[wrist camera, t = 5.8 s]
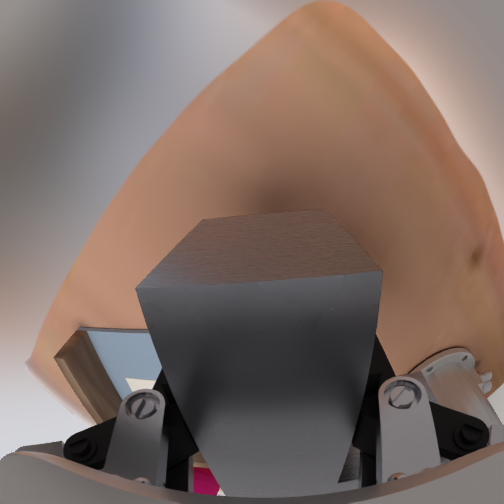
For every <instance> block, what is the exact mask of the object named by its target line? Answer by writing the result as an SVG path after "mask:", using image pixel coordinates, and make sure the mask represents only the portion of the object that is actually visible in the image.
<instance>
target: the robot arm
mask: <svg viewBox="0 0 504 504" xmlns="http://www.w3.org/2000/svg"><path fill="white" fill-rule="evenodd" d="M418 371H421V372H422V374H423V375H424V377H425V379H426V381H427V383H428V385H429V386H430V388H431V390H432V392H433V394H434V396H435V398H436V400H437V402H438V404H436V403H433V402H431V401H429V400H428V396H427V392H426V390H425V387H424V386H423V385H422V384H421V383H420V382H419V381H418V380H416V379H414V378H411V377H407V376H398V377H396V376H395V373H394V371H393V369H392V367H391V365H390V363H389V360H388V358H387V356H386V354H385V352H384V350H383V348H382V346H381V344H380V342H379V340H378V338H377V336H376V334H375V341H374V347H373V353H372V358H371V364H370V369H369V374H368V379H367V384H366V388H365V393H364V397H363V401H362V405H361V409H360V413H359V417H358V421H357V424H356V428H355V431H354V435H353V438H352V442H351V444H353V447H355V448H357V449H359V450H360V462H359V480H358V489H354V490H348V491H342V492H335V493H328V494H320V495H310V496H298V497H279V498H247V497H228V496H216V495H206V494H198V493H193V455H194V454H196V453H197V452H199V448H198V446H197V444H196V442H195V440H194V438H193V436H192V434H191V432H190V430H189V428H188V426H187V424H186V422H185V420H184V418H183V416H182V413H181V411H180V409H179V407H178V405H177V402H176V400H175V398H174V395H173V393H172V391H171V388H170V386H169V384H168V381H167V379H166V376H165V374H164V371H163V369H161V371H160V373H159V376H158V378H157V380H156V382H155V384H154V386H153V388H152V389H139V390H136V391H134V392H132V393H130V394H129V395H127V396H126V397H125V398H124V399H123V401H122V403H121V405H120V408H119V412H118V415H117V416H116V417H114V418H111V419H109V420H107V421H105V422H102V423H100V424H98V425H95V426H93V427H90V428H88V429H86V430H83V431H81V432H78V433H76V434H74V435H72V436H71V437H70V438H68V439H67V441H66V443H65V444H64V443H63V441H58V442H52V443H45V444H38V445H30V446H23V447H20V448H19V449H17V450H16V451H15V452H13V453H10V454H7V455H6V456H4V457H3V458H2V459H1V460H0V504H504V425H503V424H502V423H501V421H500V419H499V418H498V416H497V414H496V412H495V411H494V409H493V408H492V406H491V404H490V403H489V401H488V399H487V398H486V396H485V395H484V394H485V393H487V392H489V391H490V390H491V388H492V383H491V381H490V380H491V378H492V372H491V371H486V372H484V373H482V374H481V375H479V374H478V373H477V372H476V371H475V359H474V357H473V355H472V354H471V353H470V352H469V350H467V349H465V348H452V349H449V350H445V351H443V352H440V353H438V354H436V355H434V356H432V357H431V358H429V359H427V360H426V361H424V362H423V363H422V364H420V365H419V366H418V367H416V368H415V369H414V370H413V371H412V372H411V373H414V372H418Z"/></svg>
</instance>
